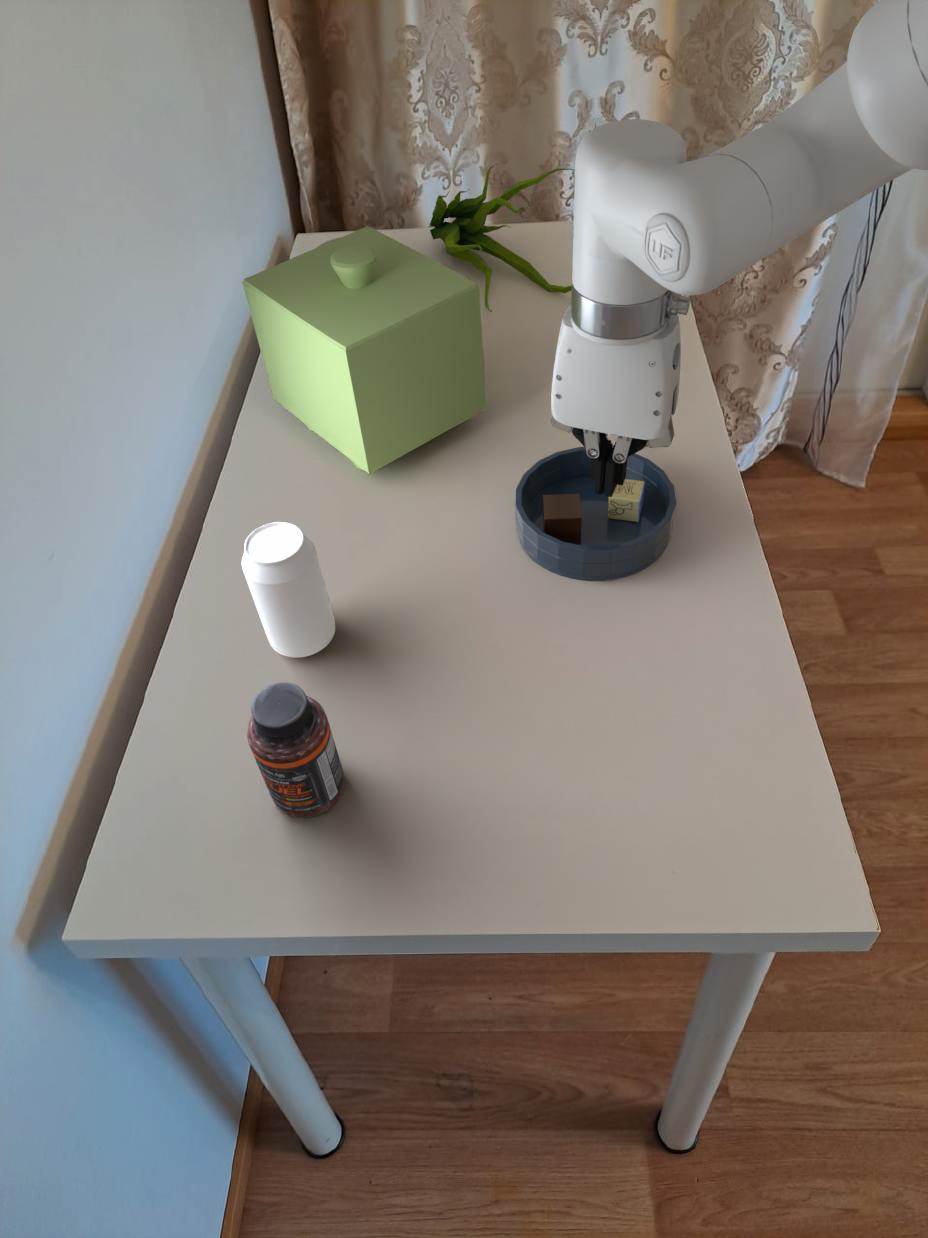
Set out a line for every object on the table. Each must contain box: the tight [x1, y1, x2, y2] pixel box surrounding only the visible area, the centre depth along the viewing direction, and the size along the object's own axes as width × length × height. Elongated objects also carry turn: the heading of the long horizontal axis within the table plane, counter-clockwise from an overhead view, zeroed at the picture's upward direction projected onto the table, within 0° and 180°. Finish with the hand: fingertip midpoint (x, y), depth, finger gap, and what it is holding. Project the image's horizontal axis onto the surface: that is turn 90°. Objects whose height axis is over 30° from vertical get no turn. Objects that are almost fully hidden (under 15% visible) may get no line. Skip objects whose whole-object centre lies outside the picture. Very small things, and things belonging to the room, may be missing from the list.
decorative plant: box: [429, 163, 575, 313], centre depth 118 cm, size 18×30×15 cm, turn 12°
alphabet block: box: [608, 479, 645, 522], centre depth 89 cm, size 3×3×3 cm
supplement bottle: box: [246, 681, 345, 818], centre depth 68 cm, size 6×6×11 cm
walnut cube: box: [543, 494, 582, 545], centre depth 87 cm, size 4×4×4 cm
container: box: [242, 225, 488, 475], centre depth 97 cm, size 19×16×20 cm
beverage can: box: [241, 521, 336, 658], centre depth 78 cm, size 6×6×12 cm
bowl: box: [514, 446, 677, 582], centre depth 88 cm, size 15×15×4 cm
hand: (607, 485), depth 83 cm, fingers closed
